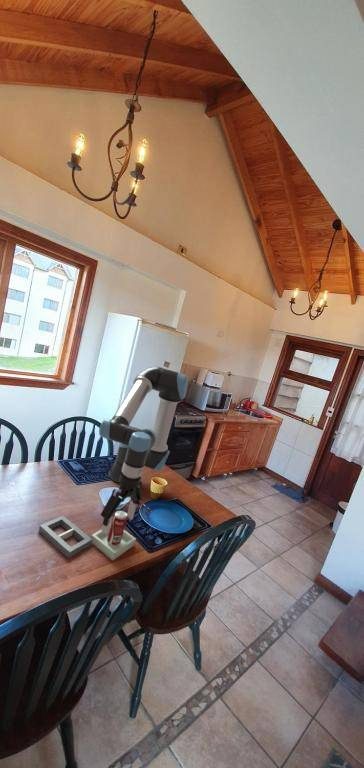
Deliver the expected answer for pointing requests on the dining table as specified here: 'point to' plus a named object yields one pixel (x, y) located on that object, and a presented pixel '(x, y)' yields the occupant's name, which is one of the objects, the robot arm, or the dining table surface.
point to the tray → (111, 551)
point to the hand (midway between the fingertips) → (117, 524)
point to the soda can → (117, 528)
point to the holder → (65, 536)
